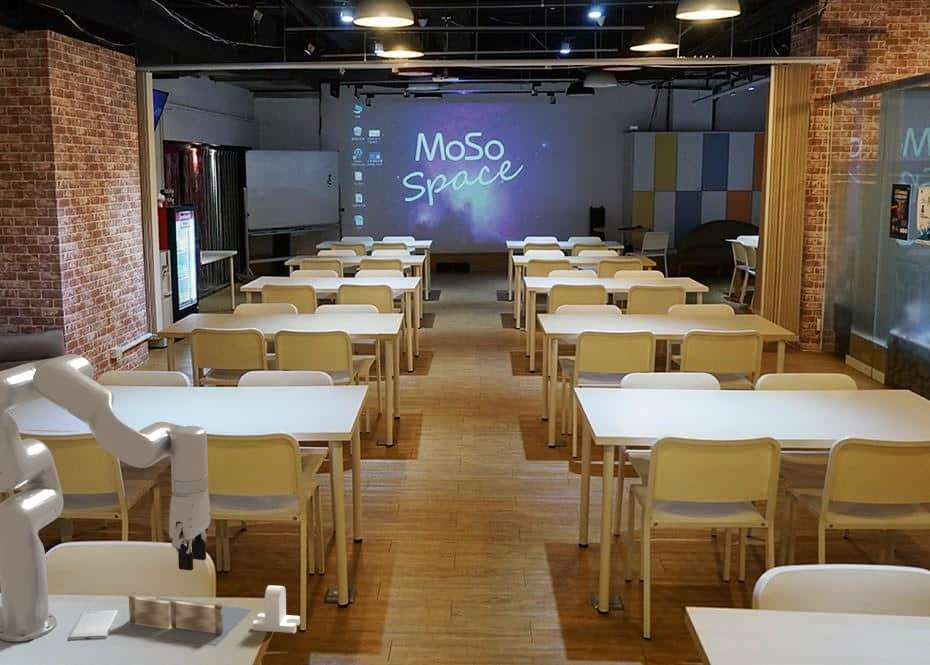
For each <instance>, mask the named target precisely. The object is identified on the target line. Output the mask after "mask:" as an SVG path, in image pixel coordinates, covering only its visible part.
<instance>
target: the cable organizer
mask: <svg viewBox="0 0 930 665" xmlns="http://www.w3.org/2000/svg"><path fill="white" fill-rule="evenodd" d="M286 593H287V591H286V587H285V585H284V586H283V585H270V584H269V585H268V586H267V587H266V589H265V594H264V612H260V613H258V614H257V615H256V619H254V620H253V621H252V630H253V631H257V632H258V631H259V632H260V631H262V632H275V633H276V632H277V633H289V634H290V633H292V634H293V635H294V634H296V633H297V626H300V625H301V616H300V615H291V614H290V615H289V614H287V594H286Z"/></svg>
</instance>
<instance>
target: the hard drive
mask: <svg viewBox="0 0 930 665" xmlns="http://www.w3.org/2000/svg"><path fill="white" fill-rule="evenodd" d="M119 614H120V611H119V609H108V610H104V609H103V610H89V611H88V610H87V611H83V612H82V613H81V615H80V617H79V618H78V620H77V622H76V624H75V626H74V628H73V629H72V631H71V633H70V635H69V637H68V640H69V641H70V640H71V641H72V640H74V641H75V640H85V639H87V640H88V639H89V640H90V639H91V640H93V639H95V640H96V639H97V640H98V639H107V638H108V637H109V634H110V633H111V630H112V628H113V626H114V624H115V622H116V620H117V619H118V618H117V617H118V616H119Z"/></svg>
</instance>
